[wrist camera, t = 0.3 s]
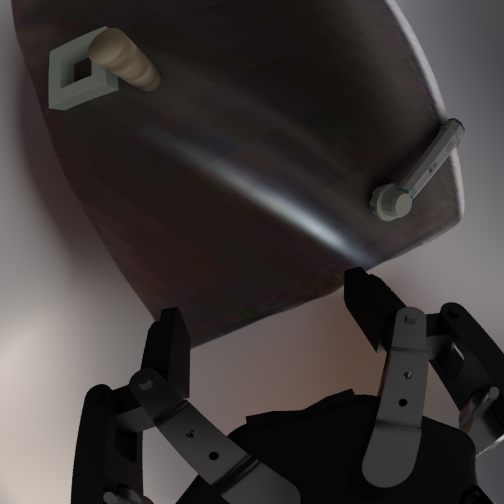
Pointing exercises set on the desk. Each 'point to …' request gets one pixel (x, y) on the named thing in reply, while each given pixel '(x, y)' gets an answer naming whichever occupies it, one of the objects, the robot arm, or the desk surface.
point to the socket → (62, 75)
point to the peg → (124, 60)
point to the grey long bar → (416, 174)
